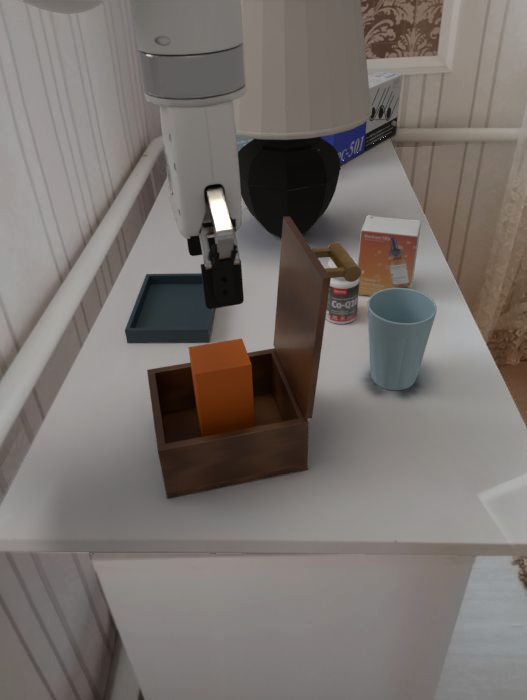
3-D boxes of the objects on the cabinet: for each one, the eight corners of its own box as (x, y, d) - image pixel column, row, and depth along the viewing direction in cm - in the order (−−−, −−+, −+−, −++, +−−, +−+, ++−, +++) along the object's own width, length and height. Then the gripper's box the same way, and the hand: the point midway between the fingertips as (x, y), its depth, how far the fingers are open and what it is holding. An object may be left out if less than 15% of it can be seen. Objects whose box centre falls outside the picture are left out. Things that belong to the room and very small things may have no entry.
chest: (167, 499, 60) (157, 451, 55) (155, 415, 69) (146, 369, 65) (308, 469, 62) (308, 422, 58) (277, 393, 72) (276, 347, 68)
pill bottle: (330, 327, 83) (332, 274, 78) (318, 309, 86) (320, 257, 81) (362, 321, 83) (366, 268, 78) (349, 304, 87) (352, 252, 82)
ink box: (333, 171, 130) (336, 102, 122) (308, 165, 134) (308, 98, 125) (397, 134, 149) (404, 73, 141) (374, 130, 153) (378, 70, 144)
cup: (351, 384, 73) (356, 312, 66) (375, 351, 78) (382, 281, 72) (411, 404, 69) (423, 330, 63) (432, 368, 75) (445, 297, 68)
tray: (209, 342, 81) (207, 329, 79) (127, 342, 81) (124, 330, 80) (219, 284, 93) (218, 272, 92) (148, 285, 93) (146, 273, 92)
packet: (205, 455, 63) (194, 374, 56) (198, 426, 67) (188, 347, 60) (256, 445, 64) (251, 364, 57) (247, 417, 67) (242, 338, 61)
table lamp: (203, 270, 97) (172, -19, 73) (218, 203, 118) (198, -37, 94) (372, 268, 95) (397, -28, 72) (356, 200, 117) (371, -44, 93)
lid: (323, 278, 49) (381, 274, 50) (283, 216, 59) (332, 214, 60) (305, 419, 58) (355, 413, 59) (273, 345, 67) (316, 340, 69)
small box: (354, 295, 89) (359, 230, 83) (360, 277, 93) (365, 213, 87) (409, 302, 87) (418, 236, 81) (413, 283, 91) (422, 219, 85)
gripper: (134, 55, 50) (162, 241, 60) (153, 109, 36) (186, 337, 47) (222, 47, 51) (235, 231, 62) (272, 96, 38) (279, 321, 48)
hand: (214, 277), depth 54 cm, fingers open, 9 cm apart
